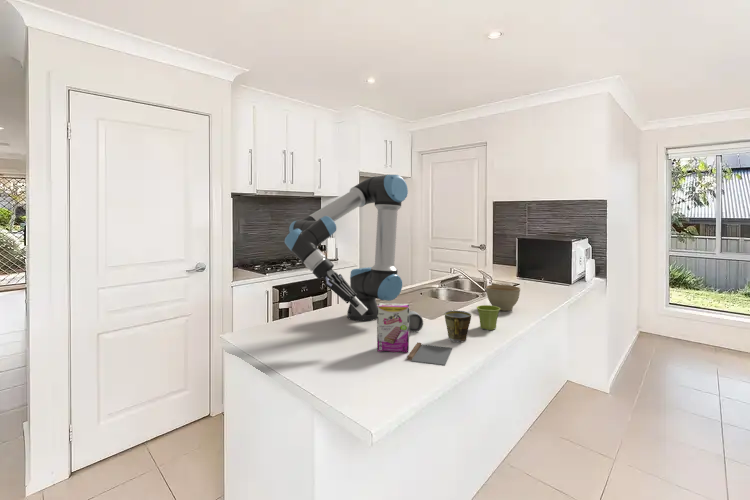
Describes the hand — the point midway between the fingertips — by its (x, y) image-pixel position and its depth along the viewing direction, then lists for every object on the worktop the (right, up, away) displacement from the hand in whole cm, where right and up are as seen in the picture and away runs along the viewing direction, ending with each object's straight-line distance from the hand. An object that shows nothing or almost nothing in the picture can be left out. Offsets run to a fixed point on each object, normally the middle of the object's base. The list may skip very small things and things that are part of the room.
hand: (364, 312), depth 134 cm
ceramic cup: (+35, -12, +8) cm, 38 cm away
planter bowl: (+67, -8, +55) cm, 87 cm away
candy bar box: (+10, -14, -1) cm, 17 cm away
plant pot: (+51, -11, +24) cm, 57 cm away
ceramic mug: (+18, -11, +22) cm, 31 cm away
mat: (+23, -14, -5) cm, 27 cm away
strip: (+17, -13, -3) cm, 22 cm away
